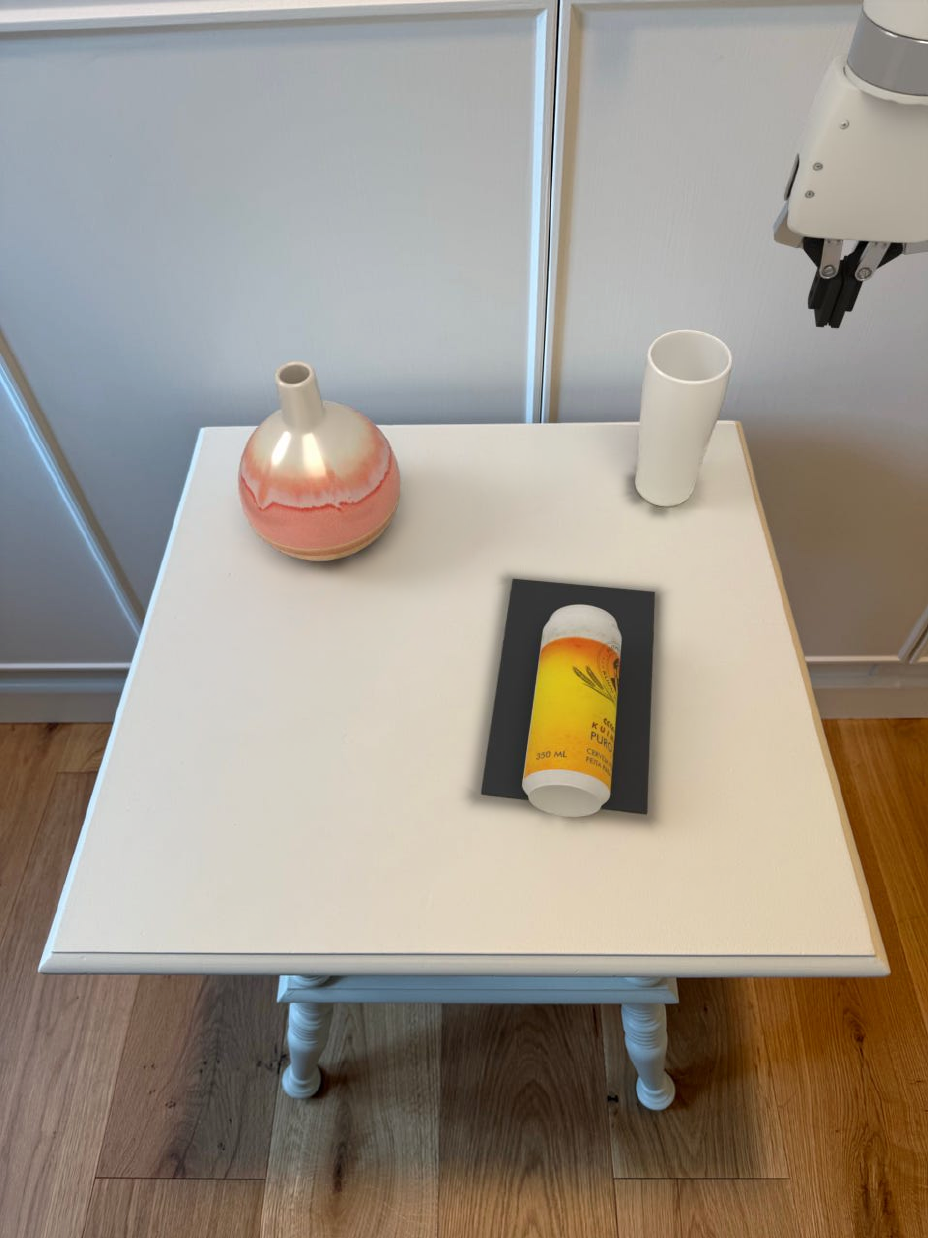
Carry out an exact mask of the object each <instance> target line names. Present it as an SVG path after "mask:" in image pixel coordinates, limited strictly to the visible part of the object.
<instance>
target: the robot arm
mask: <svg viewBox="0 0 928 1238" xmlns="http://www.w3.org/2000/svg"><path fill="white" fill-rule="evenodd" d="M802 127H803V128H802V130H801V133H800V136H799V138H798V141H797V144H796V147H795V149H794V152H793V156H792V159H791V162H790V165H789V168H788V171H787V176H786V179H785V183H784V187H783V188H784V190H783V201H786V202H785V203H784V205H783V207H782V209H781V211H780V213H779V215H778V216H777V218H776V220H775V221H774V222H773V226H772V231H773V241H775V243H778V244H781V245H784V246H788V247H792V248H794V249H800V250H803V252H804V253H805V254H806V255H807V256H808V258H809V259H810V260H811V261H812V264H814V266H816V272H815V273H814V277H813V280H812V282H811V286H810V289H809V292H808V297H807V309H808V310H813V314H814V322H815V327H816V328H825V326H829V327H830V328H831V329H840V327H841V325H842V322H843V319H844V316H845V314H846V312H847V313H852V312H853V310H854V307H855V304H856V302H857V299H858V297H859V295H860V291H861V288H862V286H863V283H864V282H866V281H868V280H870V279H871V278H872V277H873V276H874V275H875V272H876V270H878V269H880V268H881V267H883V266H885V265H886V264H888V263H889V262H892V261H893V260H895V259H896V258H898V257H900V256H901V255H904V256H907V255H913V254H914V255H915V254H921V253H927V252H928V0H863V3H862V6H861V10H860V13H859V17H858V20H857V22H856V26H855V29H854V33H853V36H852V40H851V44H850V46H849V50H848V53H840V54H838V55H837V56H835V57H834V58H833V59H832V60H831V62H830V64H829V67H828V68H827V70H826V71H825V74H824V76H823V78H822V80H821V83H820V84H819V87H818V89H817V91H816V93H815V96H814V99H813V101H812V103H811V106H810V108H809V111H808V113H807V116H806V119H805V122H804V124H803V126H802ZM844 241H855V243H854V245H853V247H852V248H851V251H850V253H849V254H847V255H843V258H842V259H841V257H842V250H843V246H844Z"/></svg>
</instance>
